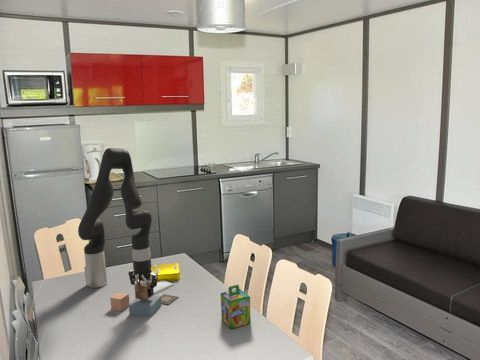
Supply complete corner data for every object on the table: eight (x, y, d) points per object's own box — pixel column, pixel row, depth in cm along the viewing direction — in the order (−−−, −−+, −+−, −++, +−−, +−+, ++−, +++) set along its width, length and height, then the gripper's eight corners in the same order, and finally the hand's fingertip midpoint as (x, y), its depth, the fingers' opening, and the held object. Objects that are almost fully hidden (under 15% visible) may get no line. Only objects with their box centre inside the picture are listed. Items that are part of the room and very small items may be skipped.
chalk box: (230, 329, 160) (229, 293, 158) (220, 319, 168) (219, 285, 166) (251, 323, 164) (250, 288, 162) (241, 314, 172) (239, 280, 170)
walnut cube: (135, 298, 177) (134, 286, 176) (143, 293, 182) (142, 281, 181) (146, 300, 175) (145, 288, 174) (153, 295, 180) (153, 283, 179)
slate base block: (129, 314, 176) (128, 304, 175) (140, 304, 185) (140, 294, 185) (151, 316, 173) (150, 306, 173) (161, 306, 183) (160, 296, 182)
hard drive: (153, 292, 194) (173, 283, 204) (142, 288, 199) (161, 279, 208) (154, 295, 194) (173, 286, 204) (142, 291, 199) (162, 282, 209)
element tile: (180, 280, 210) (179, 271, 210) (150, 284, 208) (149, 274, 207) (178, 269, 225) (178, 261, 224) (150, 272, 222) (149, 264, 221)
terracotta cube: (111, 309, 181) (110, 297, 180) (119, 303, 186) (118, 292, 185) (121, 311, 179) (120, 299, 178) (129, 305, 184) (128, 294, 183)
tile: (153, 302, 186) (153, 301, 186) (163, 294, 193) (163, 293, 193) (168, 305, 183) (168, 304, 183) (178, 297, 190) (178, 296, 190)
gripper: (122, 258, 175) (125, 296, 178) (150, 262, 169) (153, 301, 172) (133, 252, 182) (136, 289, 185) (161, 256, 176) (163, 294, 179)
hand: (144, 295), depth 178 cm, fingers closed on walnut cube, 5 cm apart
